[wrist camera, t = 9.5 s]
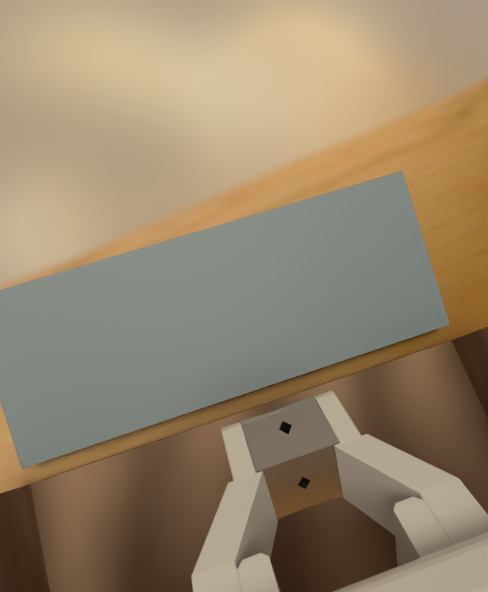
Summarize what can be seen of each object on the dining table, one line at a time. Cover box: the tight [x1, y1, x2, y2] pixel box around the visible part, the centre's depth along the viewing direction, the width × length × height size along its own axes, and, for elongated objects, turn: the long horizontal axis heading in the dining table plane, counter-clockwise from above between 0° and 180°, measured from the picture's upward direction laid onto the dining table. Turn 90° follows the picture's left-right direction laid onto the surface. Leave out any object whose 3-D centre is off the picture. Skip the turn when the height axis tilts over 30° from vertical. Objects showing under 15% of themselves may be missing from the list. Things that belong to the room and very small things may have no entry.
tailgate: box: [0, 171, 450, 469], centre depth 24 cm, size 24×2×9 cm
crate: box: [0, 327, 488, 592], centre depth 18 cm, size 26×12×10 cm, turn 108°
